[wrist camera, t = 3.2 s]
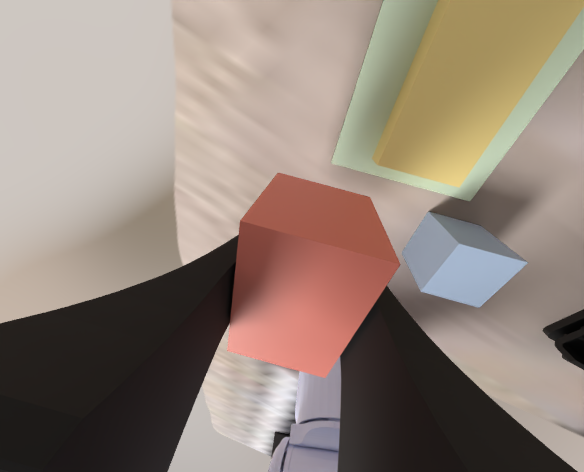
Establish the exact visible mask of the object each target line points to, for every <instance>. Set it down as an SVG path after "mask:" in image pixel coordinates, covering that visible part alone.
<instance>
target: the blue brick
mask: <svg viewBox="0 0 584 472" xmlns="http://www.w3.org/2000/svg"><path fill="white" fill-rule="evenodd" d="M402 255H403V257H404V259H405V261H406V263H407V265H408V267H409V269H410V271H411V273H412V275H413V277H414V279H415V281H416V283H417V285H418V287H419V289H420V291H421V292H424V293H428V294H431V295H435V296H439V297H442V298H446V299H449V300H453V301H457V302H460V303H464V304H467V305H471V306H474V307H478V308H479V307H480V306H482V305H483V304H484V303H485V302H486V301H487V300H488V299H489V298H490V297H491V296H492V295H494V294H495V293H496V292H497V291H498V290H499V289H500V288H501V287H502V286H503V285H504V284H506V283H507V282H508V281H509V280H510V279H511V278H512V277H513V276H514V275H515V274H516V273H518V272H519V271H520V270H521V269H522V268H523V267H524V266H525V265H526V264H527V263H528V262H527V261H525V260H524V259H523V258H521V257H520V256H519V255H518V254H516V253H515V252H514V251H512V250H511V249H510V248H509V247H507V246H506V245H505V244H503V243H502V242H501V241H500V240H498V239H497V238H496V237H494V236H493V235H492V234H491V233H489V232H488V231H487V230H485V229H484V228H483V227H482V226H480V225H476V224H473V223H469V222H465V221H462V220H458V219H454V218H451V217H447V216H443V215H440V214H436V213H432V212H429V211H428V213H427V214H426V216H425V217H424V219H423V220H422V222H421V223H420V225H419V227H418V228H417V230H416V231H415V233H414V234H413V236H412V237H411V239H410V241H409V242H408V244H407V245H406V247H405V248H404V250H403V251H402Z"/></svg>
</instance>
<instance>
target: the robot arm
mask: <svg viewBox="0 0 584 472" xmlns="http://www.w3.org/2000/svg"><path fill="white" fill-rule="evenodd" d="M238 238H239V235H237V236H236V237H234V238H233V239H231V240H230V241H228V242H226V243H225V244H223V245H221V246H220V247H218V248H216V249H215V250H213V251H211V252H209V253H208V254H206V255H204V256H202V257H200V258H198V259H196V260H194V261H192V262H191V263H189V264H186V265H184V266H182V267H180V268H178V269H176V270H173V271H171V272H169V273H166V274H164V275H162V276H159V277H157V278H154V279H152V280H148V281H146V282H143V283H140V284H137V285H135V286H132V287H129V288H126V289H124V290H120V291H118V292H115V293H111V294H108V295H105V296H102V297H99V298H96V299H92V300H89V301H85V302H82V303H78V304H75V305H71V306H68V307H64V308H60V309H57V310H53V311H49V312H46V313H41V314H37V315H33V316H29V317H25V318H21V319H16V320H12V321H8V322H4V323H1V324H0V472H167V471H168V469H169V466H170V463H171V461H172V458H173V456H174V453H175V451H176V448H177V445H178V443H179V440H180V438H181V435H182V433H183V430H184V427H185V425H186V422H187V420H188V417H189V415H190V413H191V410H192V407H193V405H194V402H195V400H196V398H197V395H198V393H199V390H200V388H201V385H202V383H203V381H204V378H205V376H206V373H207V371H208V369H209V366H210V364H211V361H212V359H213V357H214V354H215V352H216V350H217V347H218V345H219V343H220V341H221V339H222V337H223V335H224V333H225V331H226V329H227V327H228V325H229V323H230V318H231V308H232V298H233V288H234V278H235V268H236V258H237V248H238ZM295 418H296V424H292V425H291V432H290V437H284V438H283V439H282V441H281V442H280V444H279V445H278V446H277V448H276V449H275V451H274V453H273V456H272V459H271V462H270V466H269V470H268V472H577V471H576V470H575V469H573V468H572V467H571V466H570V465H569V464H567V463H566V462H565V461H563V460H562V459H561V458H560V457H559V456H557V455H556V454H555V453H554V452H552V451H551V450H550V449H549V448H548V447H546V446H545V445H544V444H543V443H542V442H541V441H539V440H538V439H537V438H536V437H535V436H533V435H532V434H531V433H530V432H529V431H528V430H526V429H525V428H524V427H523V426H522V425H521V424H519V423H518V422H517V421H516V420H515V419H514V418H512V417H511V416H510V415H509V414H508V413H507V412H506V411H505V410H503V409H502V408H501V407H500V406H499V405H498V404H497V403H496V402H494V401H493V400H492V399H491V398H490V397H489V396H488V395H487V394H486V393H485V392H484V391H482V390H481V389H480V388H479V387H478V386H477V385H476V384H475V383H474V382H473V381H472V380H471V379H470V378H469V377H468V376H466V375H465V374H464V373H463V372H462V371H461V370H460V369H459V368H458V367H457V366H456V365H455V364H454V363H453V362H452V361H451V360H450V359H449V358H448V357H447V356H446V355H445V354H444V353H443V352H442V350H441V349H440V348H439V347H438V346H437V345H436V344H435V343H434V342H433V341H432V340H431V339H430V338H429V337H428V336H427V335H426V333H425V332H424V331H423V330H422V329H421V328H420V327H419V325H418V324H417V323H416V322H415V321H414V319H413V318H412V317H411V316H410V315H409V314H408V312H407V311H406V310H405V309H404V307H403V306H402V305H401V304H400V302H399V301H398V300H397V299H396V297H395V296H394V295H393V293H392V292H391V291H390V289H389V288H388V287H387V286H386V287H385V289H384V290H383V292H382V293H381V295H380V296H379V298H378V299H377V301H376V302H375V304H374V305H373V307H372V308H371V310H370V311H369V313H368V314H367V316H366V317H365V319H364V320H363V322H362V323H361V325H360V326H359V328H358V329H357V331H356V332H355V334H354V335H353V337H352V338H351V340H350V342H349V343H348V345H347V346H346V348H345V349H344V351H343V352H342V354H341V355H340V357H339V358H338V360H337V361H336V363H335V364H334V366H333V367H332V369H331V370H330V372H329V373H328V375H327V376H326V378H323V377H319V376H316V375H312V374H308V373H305V372H301V371H300V372H299V381H298V390H297V398H296V407H295Z"/></svg>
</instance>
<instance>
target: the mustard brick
mask: <svg viewBox="0 0 584 472" xmlns="http://www.w3.org/2000/svg"><path fill="white" fill-rule="evenodd" d="M583 8H584V0H438V2H437V4H436V7H435V9H434V11H433V14H432V16H431V18H430V21H429V23H428V26H427V28H426V30H425V33H424V35H423V38H422V40H421V42H420V45H419V47H418V49H417V52H416V54H415V57H414V59H413V61H412V64H411V66H410V69H409V71H408V73H407V76H406V78H405V80H404V83H403V85H402V88H401V90H400V92H399V95H398V97H397V99H396V102H395V104H394V107H393V109H392V111H391V114H390V116H389V119H388V121H387V123H386V126H385V128H384V130H383V133H382V135H381V138H380V140H379V142H378V145H377V147H376V150H375V152H374V154H373V157H372V159H373V160H374V162H375V163H376V164H377V165H379V166H382V167H386V168H390V169H393V170H397V171H400V172H404V173H408V174H411V175H415V176H419V177H422V178H426V179H430V180H433V181H437V182H440V183H444V184H448V185H451V186H455V187H460V186H461V185H462V183H463V182H464V180H465V179H466V177H467V176H468V174H469V173H470V171H471V170H472V169H473V167H474V166H475V164H476V163H477V161H478V160H479V158H480V157H481V156H482V154H483V153H484V151H485V150H486V148H487V147H488V145H489V144H490V142H491V141H492V140H493V138H494V137H495V135H496V134H497V132H498V131H499V129H500V128H501V126H502V125H503V124H504V122H505V121H506V119H507V118H508V116H509V115H510V113H511V112H512V111H513V109H514V108H515V106H516V105H517V103H518V102H519V100H520V99H521V97H522V96H523V95H524V93H525V92H526V90H527V89H528V87H529V86H530V84H531V83H532V82H533V80H534V79H535V77H536V76H537V74H538V73H539V71H540V70H541V68H542V67H543V66H544V64H545V63H546V61H547V60H548V58H549V57H550V55H551V54H552V53H553V51H554V50H555V48H556V47H557V45H558V44H559V42H560V41H561V39H562V38H563V37H564V35H565V34H566V32H567V31H568V29H569V28H570V26H571V25H572V24H573V22H574V21H575V19H576V18H577V16H578V15H579V13H580V12H581V10H582V9H583Z"/></svg>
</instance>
